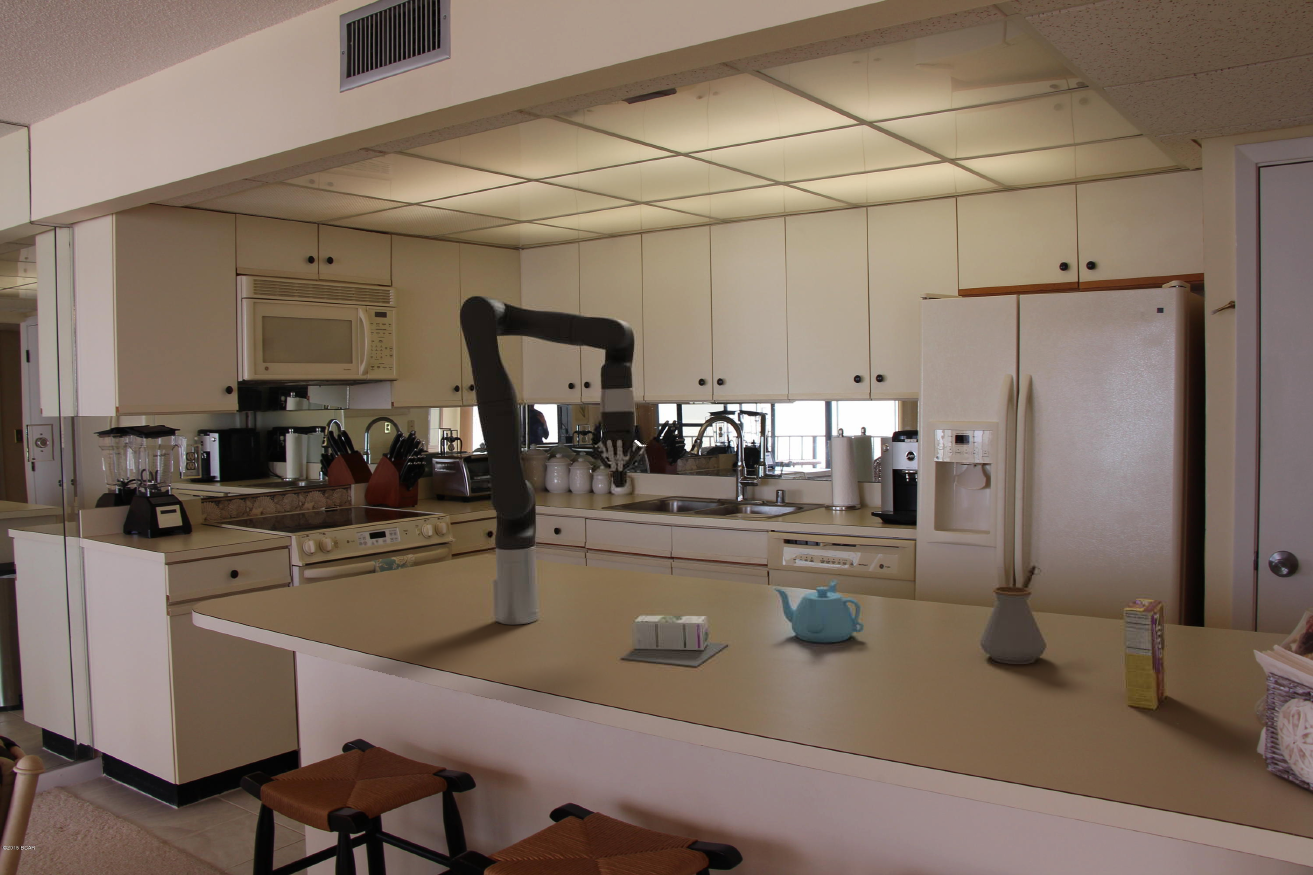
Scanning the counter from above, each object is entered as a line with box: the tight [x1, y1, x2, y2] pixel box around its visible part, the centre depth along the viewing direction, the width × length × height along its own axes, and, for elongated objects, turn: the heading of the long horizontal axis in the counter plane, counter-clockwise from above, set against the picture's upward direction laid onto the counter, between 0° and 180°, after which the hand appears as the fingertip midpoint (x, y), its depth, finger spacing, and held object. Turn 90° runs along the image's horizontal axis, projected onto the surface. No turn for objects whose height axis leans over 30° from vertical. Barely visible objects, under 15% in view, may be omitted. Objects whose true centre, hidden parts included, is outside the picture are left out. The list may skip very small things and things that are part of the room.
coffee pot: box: [979, 564, 1047, 665], centre depth 171 cm, size 21×12×15 cm, turn 142°
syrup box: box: [631, 614, 710, 650], centre depth 181 cm, size 6×6×14 cm
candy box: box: [1123, 598, 1168, 710], centre depth 142 cm, size 9×4×15 cm, turn 140°
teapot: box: [773, 579, 865, 644], centre depth 186 cm, size 15×15×10 cm
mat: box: [620, 641, 729, 668], centre depth 179 cm, size 16×16×1 cm
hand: (620, 487), depth 201 cm, fingers closed
